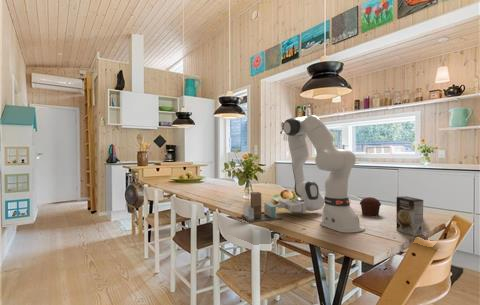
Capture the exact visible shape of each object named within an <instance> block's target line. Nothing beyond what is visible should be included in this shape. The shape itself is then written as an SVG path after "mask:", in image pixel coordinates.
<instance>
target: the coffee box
mask: <svg viewBox="0 0 480 305" xmlns="http://www.w3.org/2000/svg"><path fill="white" fill-rule="evenodd" d="M396 231H397V232H402V233H404V234H406V235H410V236H413V237H415V236H421V235H424V199H421V198H417V197H412V196H411V197H410V196H405V195H404V196H397V197H396Z"/></svg>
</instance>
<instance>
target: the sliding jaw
mask: <svg viewBox="0 0 480 305" xmlns="http://www.w3.org/2000/svg"><path fill="white" fill-rule="evenodd" d="M276 208H277V207H276V205H274V204H272V203H271V202H264V204H263V210H264V211H263V212H264V213H265V215H267V216H268V218H277V209H276Z"/></svg>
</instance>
